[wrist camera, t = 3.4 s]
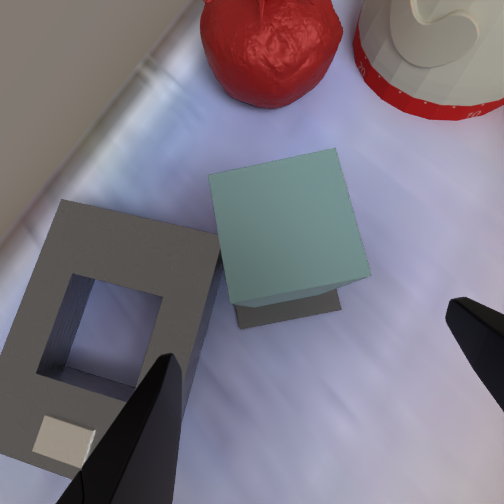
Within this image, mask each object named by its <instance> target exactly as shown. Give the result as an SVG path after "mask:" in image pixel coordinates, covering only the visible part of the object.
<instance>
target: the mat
mask: <svg viewBox="0 0 504 504" xmlns="http://www.w3.org/2000/svg"><path fill="white" fill-rule="evenodd" d="M338 310H341V306H340V302H339V298H338V294H337V290H336V289H334V290H331V291H328V292H325V293H323V294H320V295H316V296H311V297H306V298H301V299H295V300H290V301H285V302H280V303H275V304H270V305H265V306H260V307H255V308H254V307H248V306H241V305H236V311H237V316H238V322H239V328H240V329H245V328H250V327H255V326H260V325H265V324H271V323H276V322H281V321H286V320H291V319H296V318H301V317H307V316H312V315H317V314H322V313H327V312H332V311H338Z"/></svg>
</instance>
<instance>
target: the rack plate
mask: <svg viewBox="0 0 504 504" xmlns="http://www.w3.org/2000/svg"><path fill="white" fill-rule="evenodd" d="M223 267H224V265H223V260H222V254H221V248H220V242H219V236H218V235H217V234H213V233H208V232H204V231H200V230H195V229H191V228H187V227H182V226H178V225H173V224H169V223H165V222H160V221H156V220H151V219H147V218H143V217H138V216H134V215H130V214H125V213H121V212H116V211H112V210H108V209H103V208H99V207H94V206H90V205H86V204H81V203H77V202H73V201H68V200H64V199H61V201H60V204H59V207H58V209H57V212H56V214H55V217H54V219H53V222H52V224H51V227H50V230H49V232H48V235H47V237H46V240H45V242H44V245H43V247H42V250H41V253H40V255H39V258H38V260H37V263H36V265H35V268H34V271H33V273H32V276H31V278H30V281H29V283H28V286H27V288H26V291H25V294H24V296H23V299H22V301H21V304H20V306H19V309H18V311H17V314H16V317H15V319H14V322H13V324H12V327H11V329H10V332H9V334H8V337H7V340H6V342H5V345H4V347H3V350H2V352H1V355H0V454H3V455H6V456H9V457H11V458H14V459H17V460H20V461H22V462H25V463H28V464H31V465H33V466H36V467H39V468H42V469H45V470H47V471H50V472H53V473H56V474H58V475H61V476H64V477H67V478H69V479H72V480H73V479H74V477H75V476H76V474H77V473H78V472H79V471H80V470H81V468H82V466H83V465H84V463H85V462H86V460H87V459H88V457H89V456H90V454H91V453H92V452H93V450H94V449H95V447H96V446H97V444H98V443H99V441H100V440H101V439H102V437H103V436H104V434H105V433H106V431H107V430H108V429H109V427H110V426H111V424H112V423H113V421H114V420H115V418H116V417H117V416H118V414H119V413H120V411H121V410H122V408H123V407H124V406H125V404H126V403H127V401H128V400H129V398H130V397H131V395H132V394H133V393H134V391H135V390H136V388H137V387H138V385H139V384H140V382H141V381H142V380H143V378H144V377H145V375H146V374H147V372H148V371H149V370H150V368H151V367H152V365H153V364H154V362H155V361H156V359H157V358H158V357H159V356H160V355H162V354H166V353H173V354H174V355H175V357H176V359H177V361H178V363H179V365H180V367H181V370H182V418H183V415H184V411H185V407H186V404H187V400H188V396H189V393H190V389H191V385H192V381H193V378H194V374H195V370H196V367H197V363H198V359H199V356H200V352H201V348H202V345H203V341H204V337H205V334H206V330H207V326H208V322H209V319H210V315H211V311H212V308H213V304H214V300H215V297H216V293H217V289H218V286H219V282H220V278H221V275H222V271H223ZM95 279H97V280H100V281H104V282H108V283H112V284H116V285H120V286H123V287H127V288H131V289H135V290H139V291H142V292H146V293H150V294H154V295H158V296H161V297H163V299H162V302H161V306H160V309H159V312H158V316H157V319H156V322H155V325H154V329H153V332H152V335H151V339H150V342H149V345H148V348H147V352H146V355H145V358H144V362H143V365H142V368H141V371H140V375H139V378H138V381H137V385H136V388H134V387H130V386H127V385H124V384H121V383H117V382H114V381H111V380H108V379H104V378H101V377H98V376H95V375H91V374H88V373H85V372H82V371H78V370H75V369H72V368H69V367H65V366H64V365H65V362H66V359H67V357H68V354H69V351H70V348H71V345H72V342H73V339H74V337H75V334H76V331H77V328H78V325H79V322H80V319H81V317H82V314H83V311H84V308H85V305H86V302H87V300H88V297H89V294H90V291H91V288H92V285H93V282H94V280H95ZM181 422H182V420H181Z"/></svg>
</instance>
